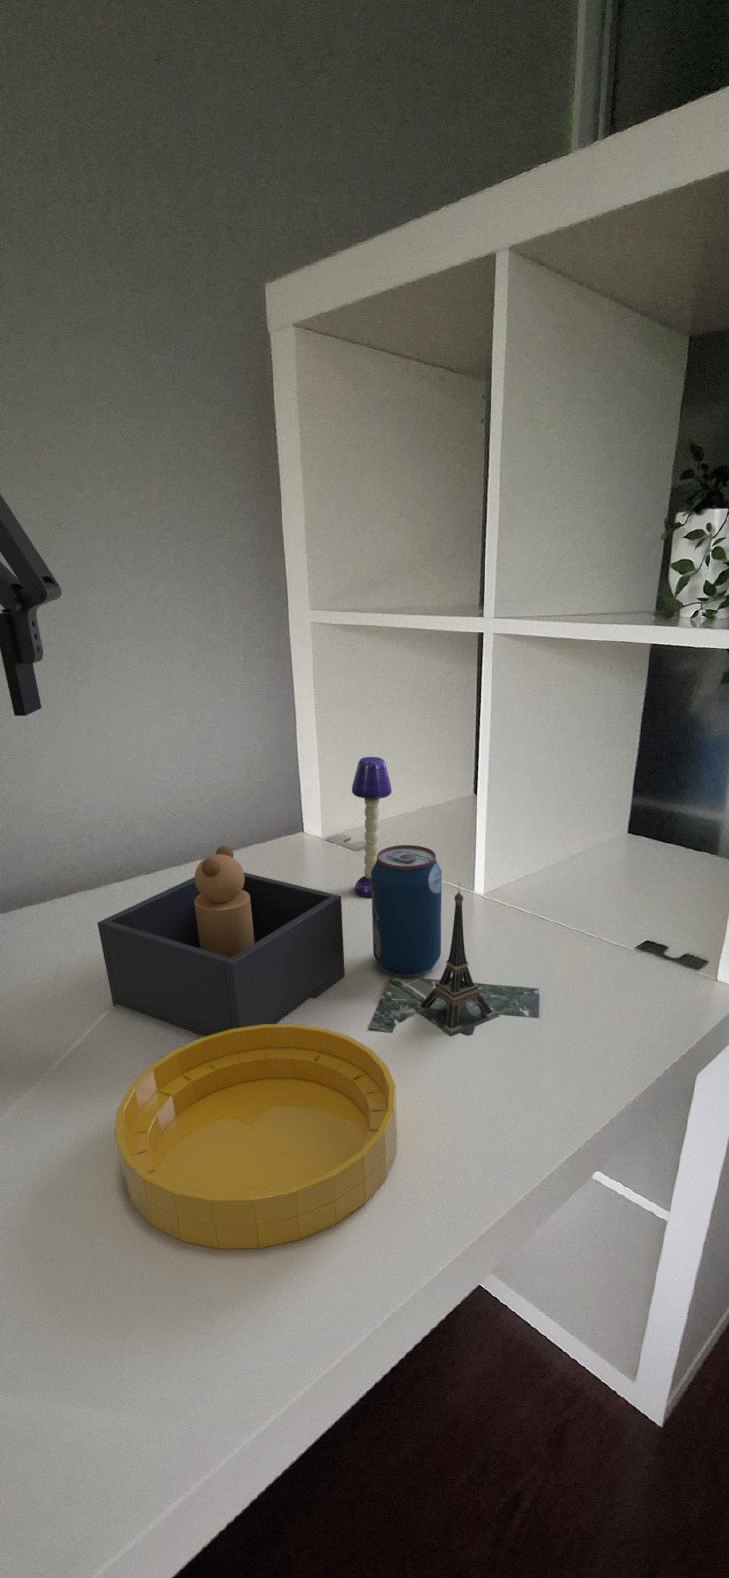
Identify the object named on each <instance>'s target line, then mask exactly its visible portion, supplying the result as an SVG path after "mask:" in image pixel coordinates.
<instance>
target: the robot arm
mask: <svg viewBox="0 0 729 1578" xmlns="http://www.w3.org/2000/svg"><path fill="white" fill-rule="evenodd" d="M0 554H1V555H2V557H3V559H4V560H5V562H6V563H7V564H8V566H9V568H10V569H11V571H10V570H9V568H8V567H7V566H6V565H5V564H4V563H3V562H2V561H1V560H0V606H2V608H3V609H0V611H1V612H0V655H1V659H2V665H3V669H4V675H5V678H6V684H7V687H8V692H9V697H10V701H11V707H12V711H13V715H14V717H26V716H28V715H30V714H32V713H34V712H37V711H38V710H41V709H42V708H43V707H42V703H41V698H40V693H39V692H40V691H39V688H38V683H37V677H36V673H35V667H34V664H36V663H38V662H41V661H43V659H44V658H43V657H44V649H43V644H42V638H41V632H40V628H39V623H38V618H37V611H38V610H39V608H40V607H42V606H43V605H46V604H48V603H51V602H53V601H57V600H59V599H60V598H61V596H62V588H61V586H60V584H59V583H58V580H57V579H56V578H55V577H54V575H53V573H52V572H51V570H50V569H49V567H48V566H47V564H46V563H45V561H44V559H43V558H42V556H41V555H40V553H39V552H38V550H37V549H36V546H34V543H33V542H32V541H31V539H30V538H29V536H28V534H27V533H26V531H25V530H24V528H23V526H22V525H21V524H20V522H19V521H18V519H17V518H16V515H15V514H14V512H13V511H12V510H11V508H10V506H9V505H8V504H7V502H6V500H5V499H4V497H3V496H2V494H1V493H0Z"/></svg>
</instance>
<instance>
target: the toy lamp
mask: <svg viewBox="0 0 729 1578" xmlns="http://www.w3.org/2000/svg"><path fill="white" fill-rule="evenodd" d="M392 792H393V791H392V783H391V780H390V776H389V773H388V769H387V764H386V761H385V760H384V758H381V757H377V756H365V757H362V758H360V759H359V761H358V763H357V765H356V771H355V775H354V777H353V782H352V786H351V794H353V795H354V796H355V797H357V798H361V799H364V805H365V808H364V816H365V820H364V828H365V832H364V842H365V844H364V847H363V848H364V853H365V855H364V865H365V867H364V871H363V872H364V875H363V876H361V877H360V878H359V879H358V880H357V881H356V883H355V884H354V885H355V886H354V892H355V894H357V895H358V896H361V897H364V898H372V884H371V871H372V869H373V867H374V865H375V863H376V861H377V854H378V853H379V852H380V851H379V850H380V846H379V840H380V833H379V827H380V820H379V816H380V807H379V804H380V799H384V798H387V797H389V796H390V795H392Z"/></svg>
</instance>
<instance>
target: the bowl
mask: <svg viewBox="0 0 729 1578" xmlns="http://www.w3.org/2000/svg"><path fill="white" fill-rule="evenodd" d="M114 1140H115V1144H116V1145H115V1146H116V1150H117V1154H118V1159H119V1163H120V1168H121V1174H122V1178H123V1182H124V1185H125V1188H126V1191H127V1193H128V1196H129V1199H130V1202H131V1205H132V1206H133V1207H134V1209H136V1210H137V1211H138V1212H139V1213H140V1215H142V1216H143V1218H144V1219H145V1220H146V1221H147V1222H148V1223H149V1224H150V1225H151V1226H153V1227H154V1228H156V1229H158V1230H160V1231H162V1232H164V1233H166V1234H168V1235H169V1236H172V1237H174V1238H176V1239H177V1240H179V1241H182V1242H186V1243H188V1244H189V1243H190V1244H194V1245H199V1246H203V1247H208V1248H212V1249H221V1250H223V1249H224V1250H225V1249H226V1250H227V1249H230V1250H231V1249H234V1250H235V1249H237V1250H239V1249H263V1248H268V1247H272V1246H276V1245H281V1244H286V1243H290V1242H295V1241H299V1240H302V1239H305V1238H307V1237H310V1236H311V1235H314V1234H317V1233H319V1232H321V1231H323V1230H326V1229H327V1228H330V1227H332V1226H335V1225H336V1224H339V1222H341V1221H342V1220H343V1219H345V1218H346V1217H348V1216H349V1215H351V1214H352V1213H353V1212H354V1211H356V1210H357V1209H359V1208H360V1207H362V1206H363V1205H364V1204H366V1203H367V1202H368V1201H369V1200H370V1198H371V1197H372V1196H373V1195H374V1193H375V1192H376V1191H377V1190H378V1189H379V1188H380V1186H381V1185H382V1184H383V1183H384V1181H385V1180H386V1178H387V1176H388V1174H389V1171H390V1169H391V1167H392V1164H393V1162H394V1159H395V1157H396V1154H397V1088H396V1084H395V1082H394V1079H393V1077H392V1074H391V1072H390V1069H389V1067H388V1066H387V1064H386V1063H385V1062H384V1061H383V1060H382V1059H381V1058H380V1057H379V1056H378V1055H377V1053H375V1051H373V1049H371V1048H370V1047H368V1046H366V1045H365V1044H363V1043H361V1042H359V1041H358V1040H357V1039H355V1038H353V1037H351V1036H349V1035H346V1034H343V1033H341V1032H337V1031H334V1030H331V1029H328V1028H325V1027H318V1026H312V1025H305V1024H299V1023H298V1024H297V1023H276V1024H262V1025H255V1026H248V1027H241V1028H234V1029H230V1030H226V1031H223V1032H219V1033H216V1034H213V1035H209V1036H206V1037H204V1036H202V1037H200V1038H198V1039H195V1040H194V1041H191V1042H189V1043H187V1044H184V1045H183V1046H181V1047H178V1048H176V1049H174V1050H172V1051H170V1052H169V1053H167V1054H166V1055H164V1056H163V1057H161V1058H160V1059H159V1060H158V1061H156V1062H154V1063H153V1064H151V1065H150V1066H148V1068H146V1069H145V1070H144V1071H143V1072H142V1073H141V1074H140V1075H139V1077H138V1078H137V1079H136V1080H135V1081H134V1082H133V1083H132V1084H131V1085H130V1086H129V1087H128V1088H127V1091H126V1093H125V1094H124V1097H123V1099H122V1100H121V1102H120V1104H119V1106H118V1108H117V1110H116V1113H115V1125H114Z"/></svg>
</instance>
